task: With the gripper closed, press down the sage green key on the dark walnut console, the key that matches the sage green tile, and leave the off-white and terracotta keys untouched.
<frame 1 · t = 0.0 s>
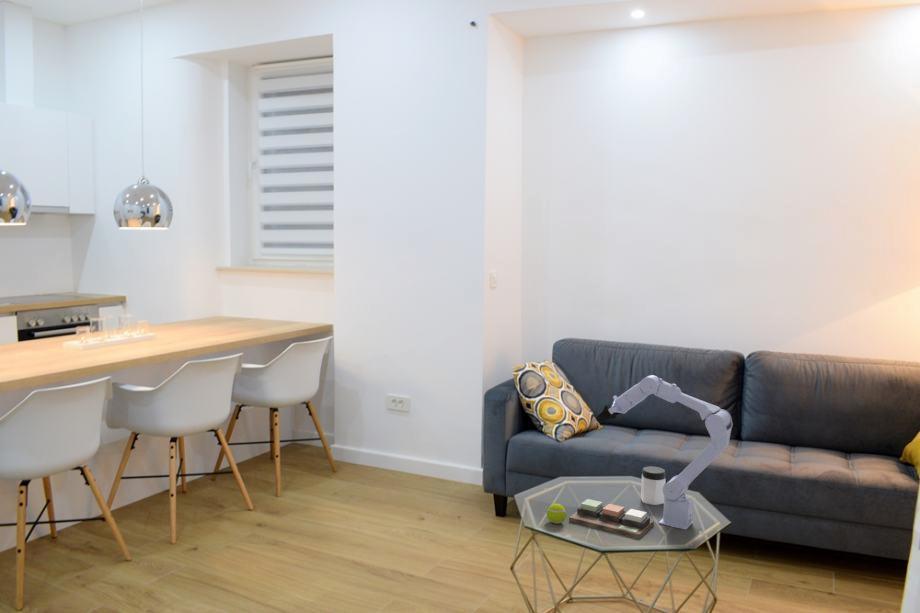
hand: (602, 418, 278), 32 cm above the table, tool tilted 50°, fingers open, 7 cm apart
jar: (652, 501, 288), on the table
key white: (635, 527, 263), resting on console, slide at 0.0 cm
key sage: (591, 516, 271), resting on console, slide at 0.0 cm
key terracotta: (612, 521, 267), resting on console, slide at 0.0 cm
tennis ball: (556, 523, 265), on the table
console: (611, 523, 266), on the table
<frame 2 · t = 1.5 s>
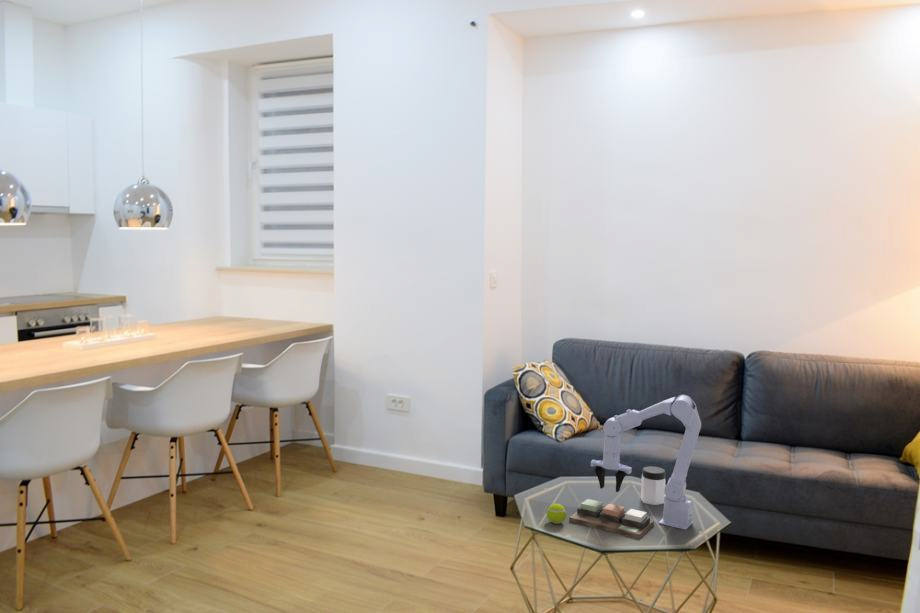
hand: (609, 489, 275), 8 cm above the table, tool pointing down, fingers open, 5 cm apart
nothing on the table moved.
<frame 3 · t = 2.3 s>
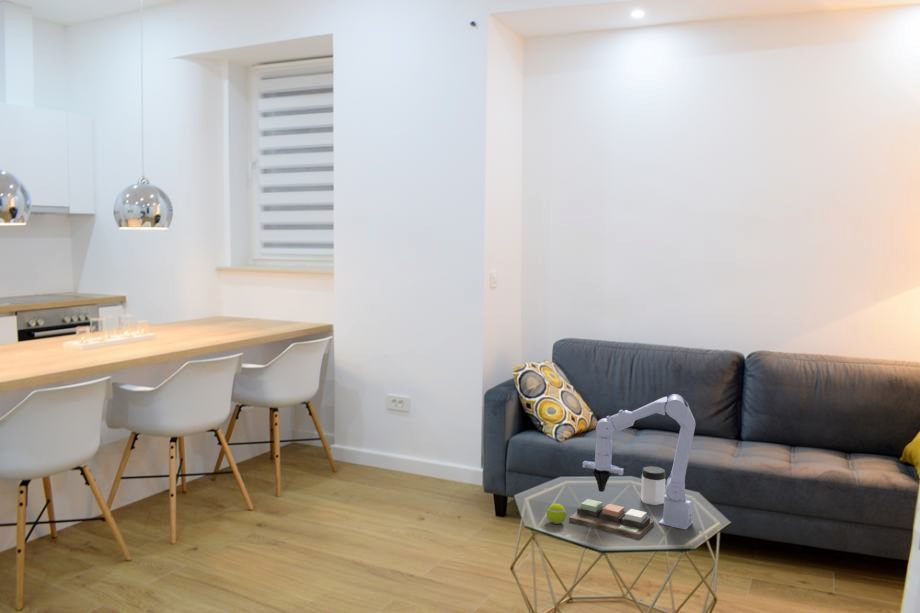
hand: (601, 490, 273), 9 cm above the table, tool pointing down, fingers closed
nothing on the table moved.
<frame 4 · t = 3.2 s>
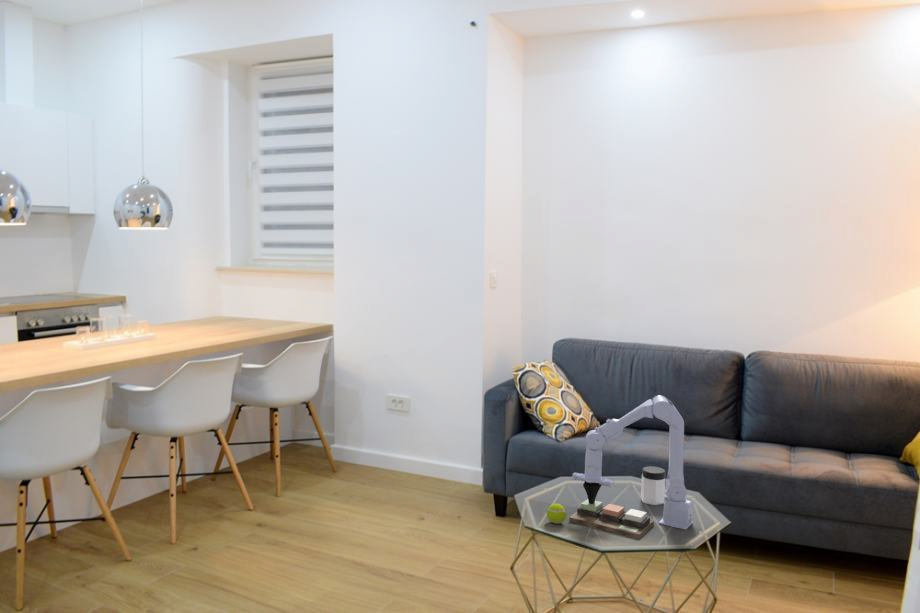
hand: (591, 502, 271), 5 cm above the table, tool pointing down, fingers closed, pressing on key sage
key sage: (591, 516, 271), resting on console, slide at 0.0 cm, touching gripper
everything else where it was.
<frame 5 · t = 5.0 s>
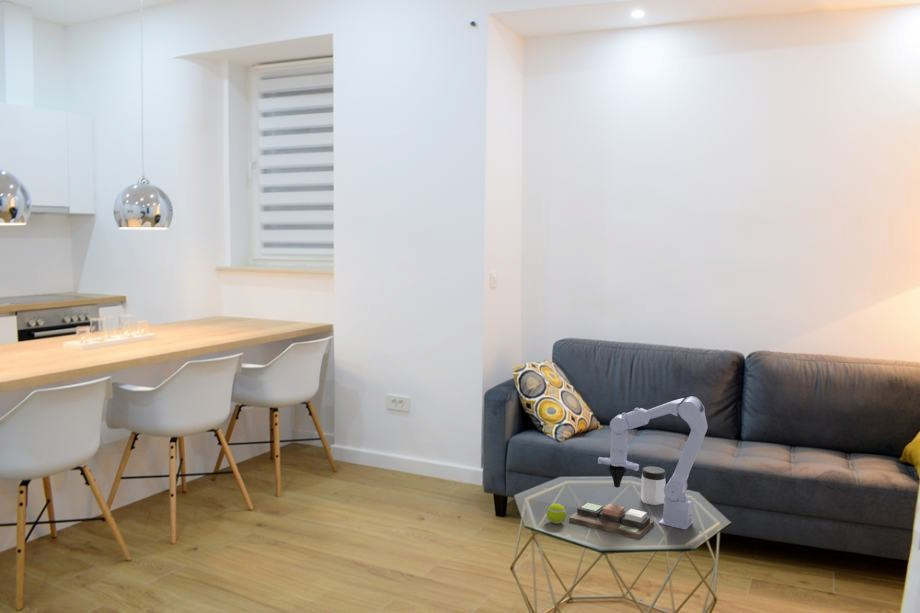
hand: (617, 486, 275), 9 cm above the table, tool pointing down, fingers closed
key sage: (591, 520, 271), resting on console, slide at 1.4 cm
everything else where it was.
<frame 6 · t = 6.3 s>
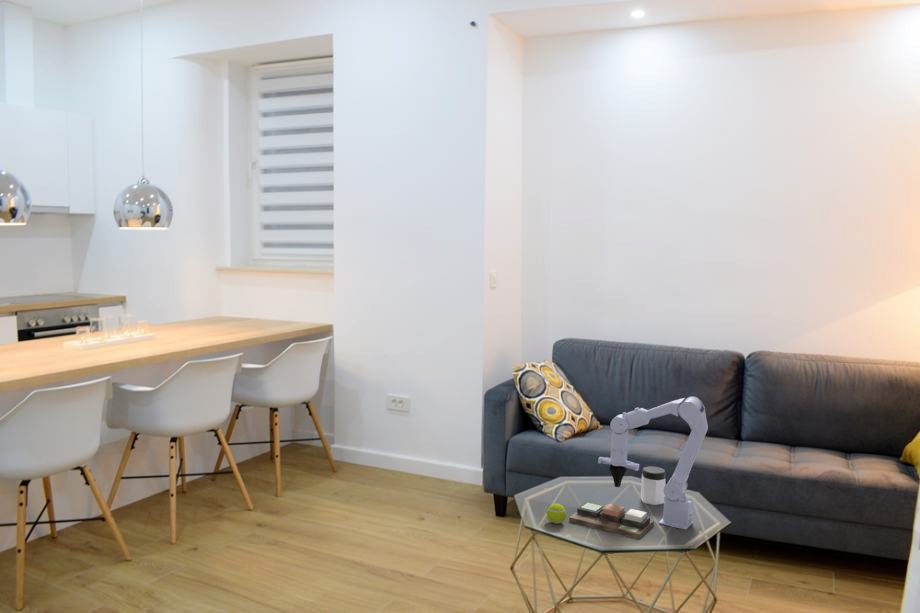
hand: (617, 486, 275), 9 cm above the table, tool pointing down, fingers closed
nothing on the table moved.
at the end: key sage slide at 1.4 cm; key terracotta slide at 0.0 cm; key white slide at 0.0 cm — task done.
